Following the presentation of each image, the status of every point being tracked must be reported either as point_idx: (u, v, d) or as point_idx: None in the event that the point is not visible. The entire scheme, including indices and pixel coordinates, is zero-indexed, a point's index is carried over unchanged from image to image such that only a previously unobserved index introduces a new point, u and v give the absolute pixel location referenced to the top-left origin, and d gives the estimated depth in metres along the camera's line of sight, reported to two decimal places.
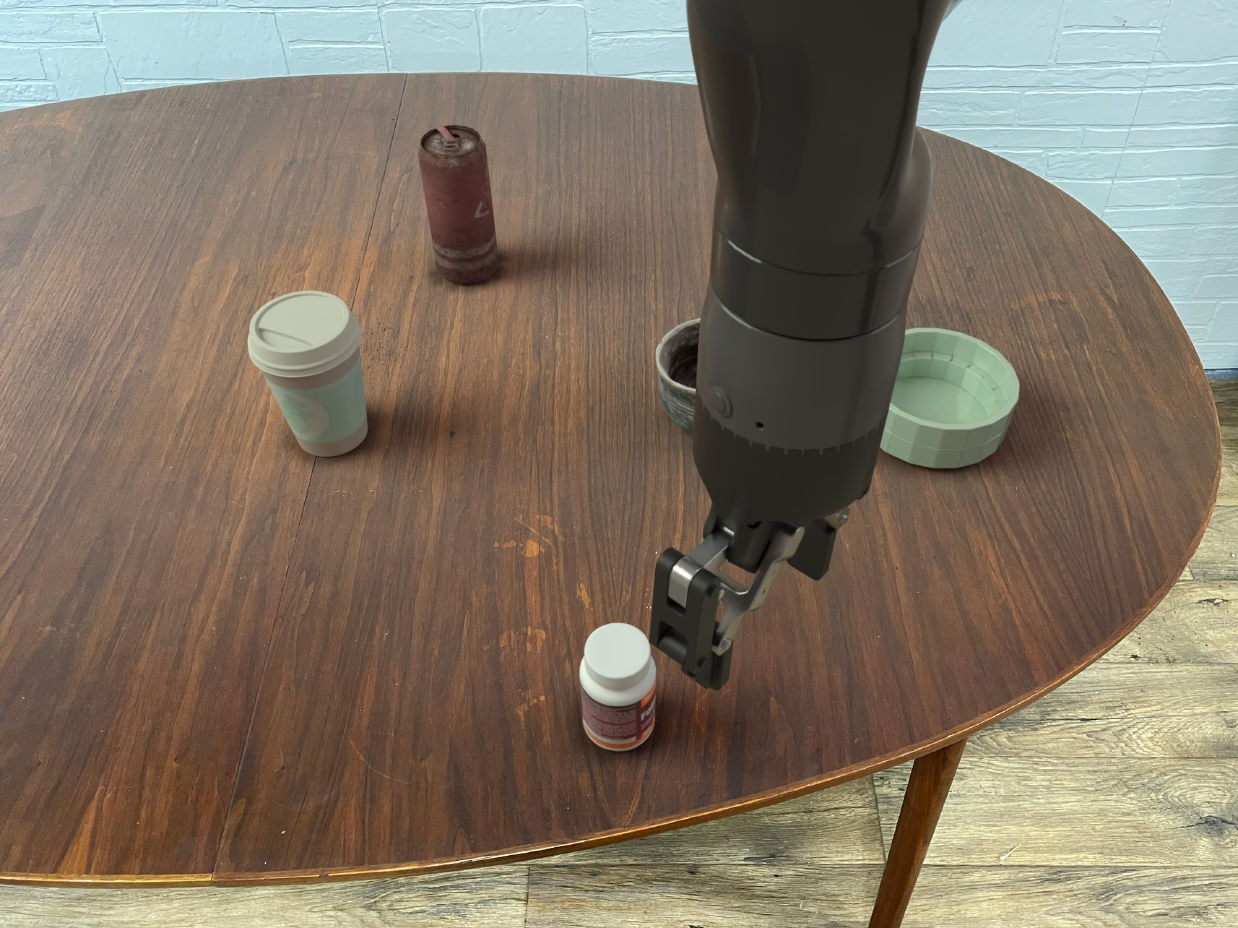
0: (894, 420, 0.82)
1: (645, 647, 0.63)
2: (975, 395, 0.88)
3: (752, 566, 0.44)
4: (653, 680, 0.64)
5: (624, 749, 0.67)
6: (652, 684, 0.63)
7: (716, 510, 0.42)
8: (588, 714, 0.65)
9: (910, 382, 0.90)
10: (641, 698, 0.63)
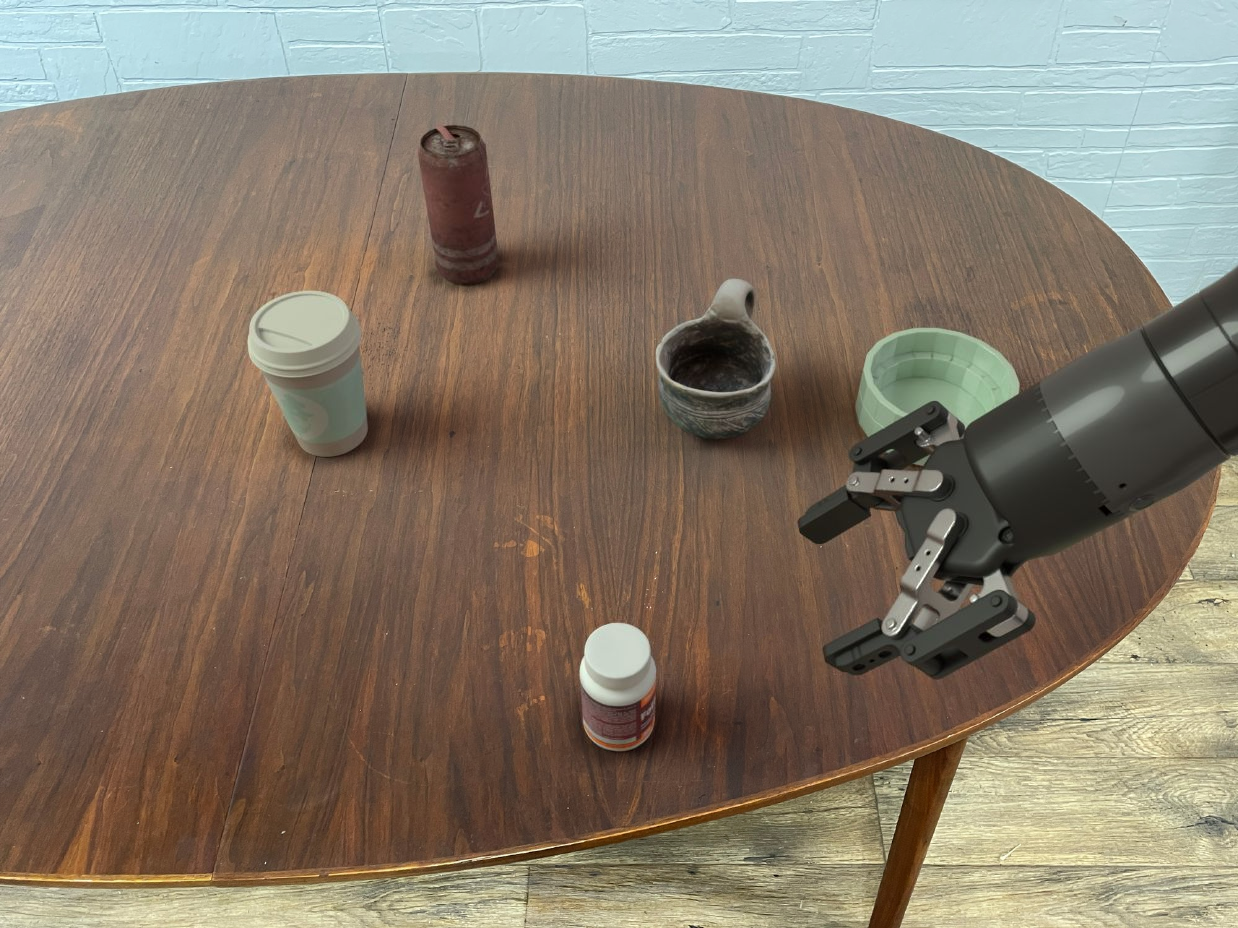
0: (894, 420, 0.82)
1: (645, 647, 0.63)
2: (975, 395, 0.88)
3: None
4: (653, 680, 0.64)
5: (624, 749, 0.67)
6: (652, 684, 0.63)
7: None
8: (588, 714, 0.65)
9: (910, 382, 0.90)
10: (641, 698, 0.63)
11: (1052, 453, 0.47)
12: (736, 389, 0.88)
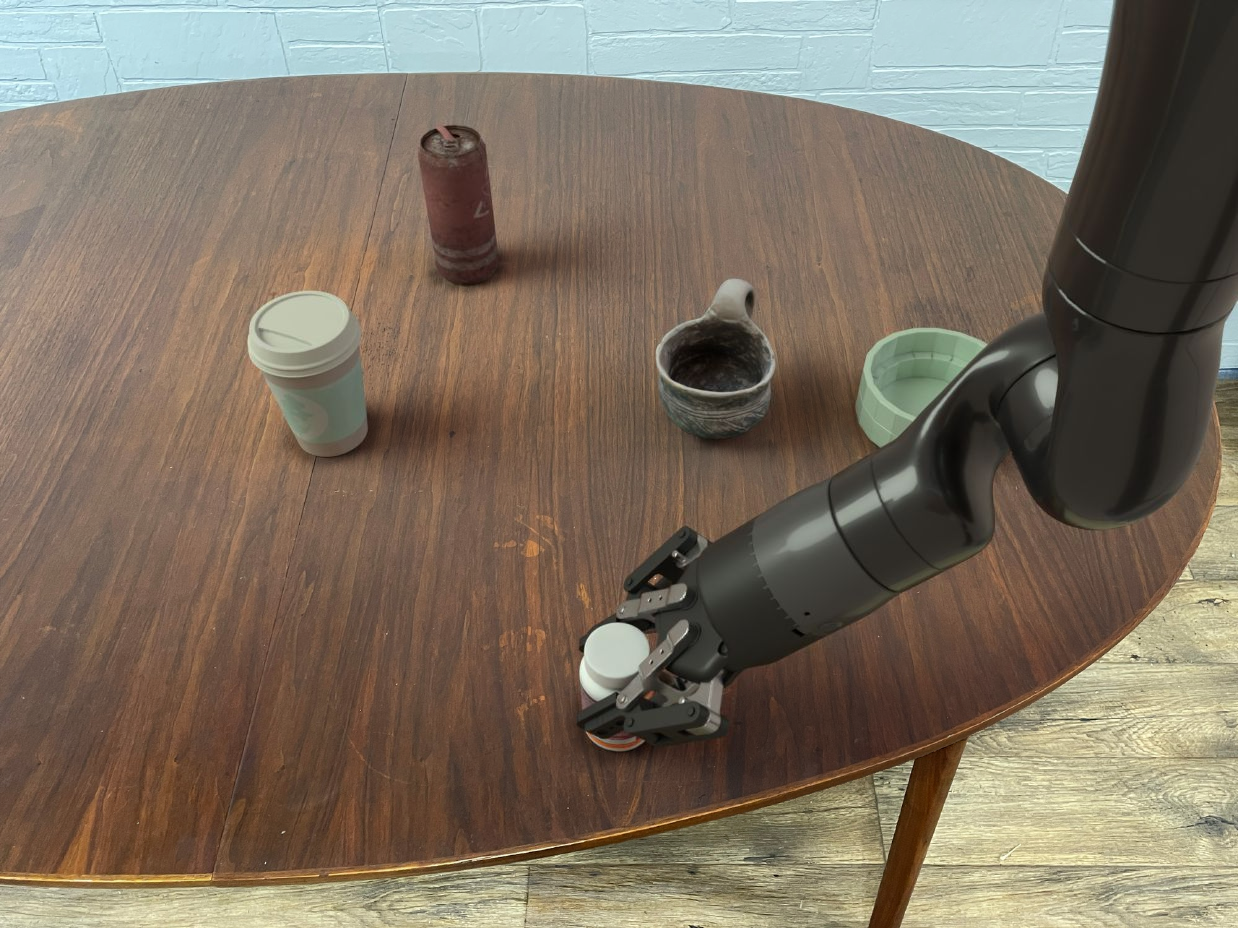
0: (894, 420, 0.82)
1: (645, 647, 0.63)
2: None
3: (677, 581, 0.62)
4: None
5: (624, 749, 0.67)
6: None
7: None
8: None
9: (910, 382, 0.90)
10: None
11: (751, 582, 0.54)
12: (736, 389, 0.88)
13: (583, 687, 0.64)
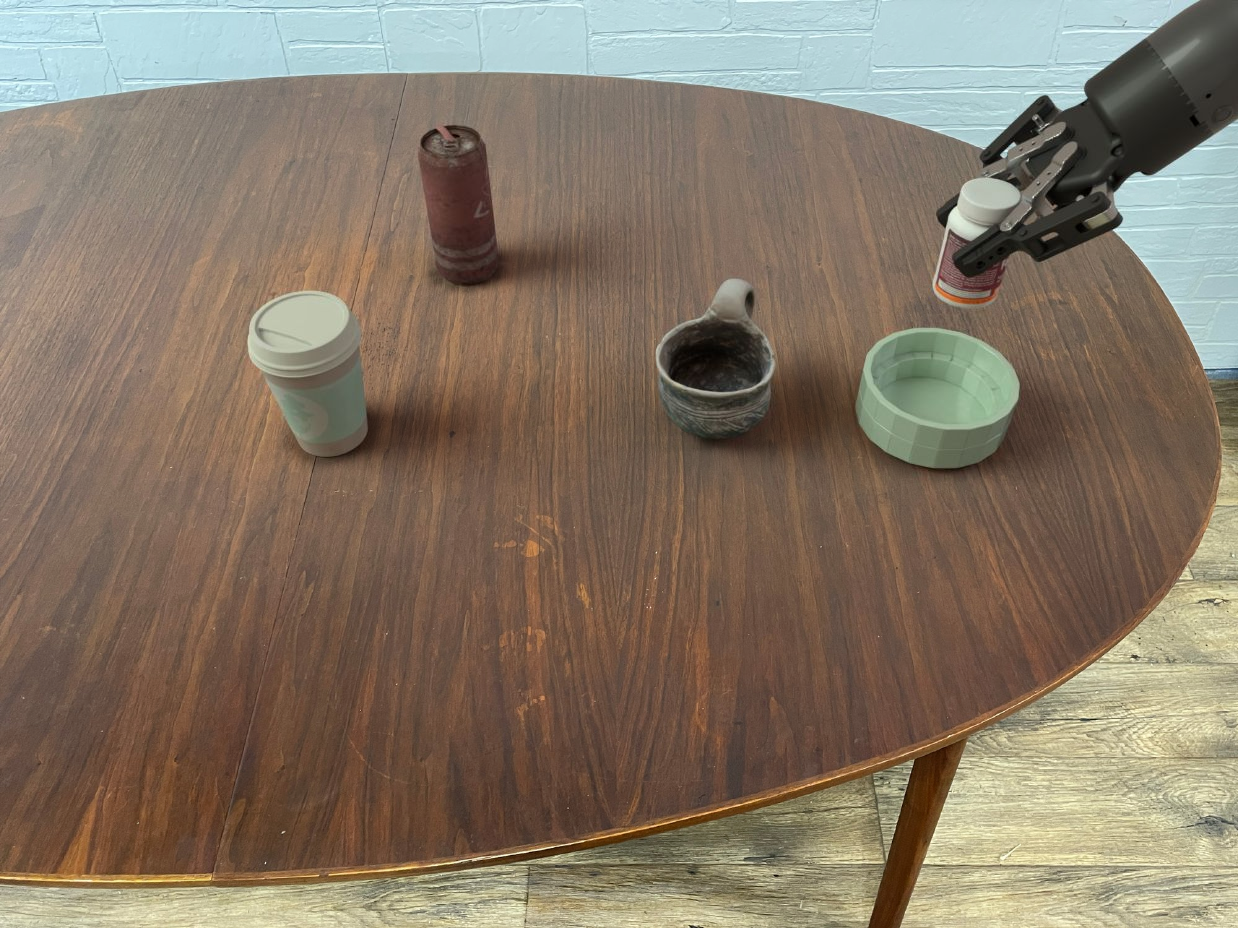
0: (894, 420, 0.82)
1: (1015, 191, 0.71)
2: (975, 395, 0.88)
3: None
4: None
5: (977, 306, 0.76)
6: None
7: None
8: (952, 267, 0.74)
9: (910, 382, 0.90)
10: None
11: (1155, 76, 0.63)
12: (736, 389, 0.88)
13: (956, 233, 0.72)
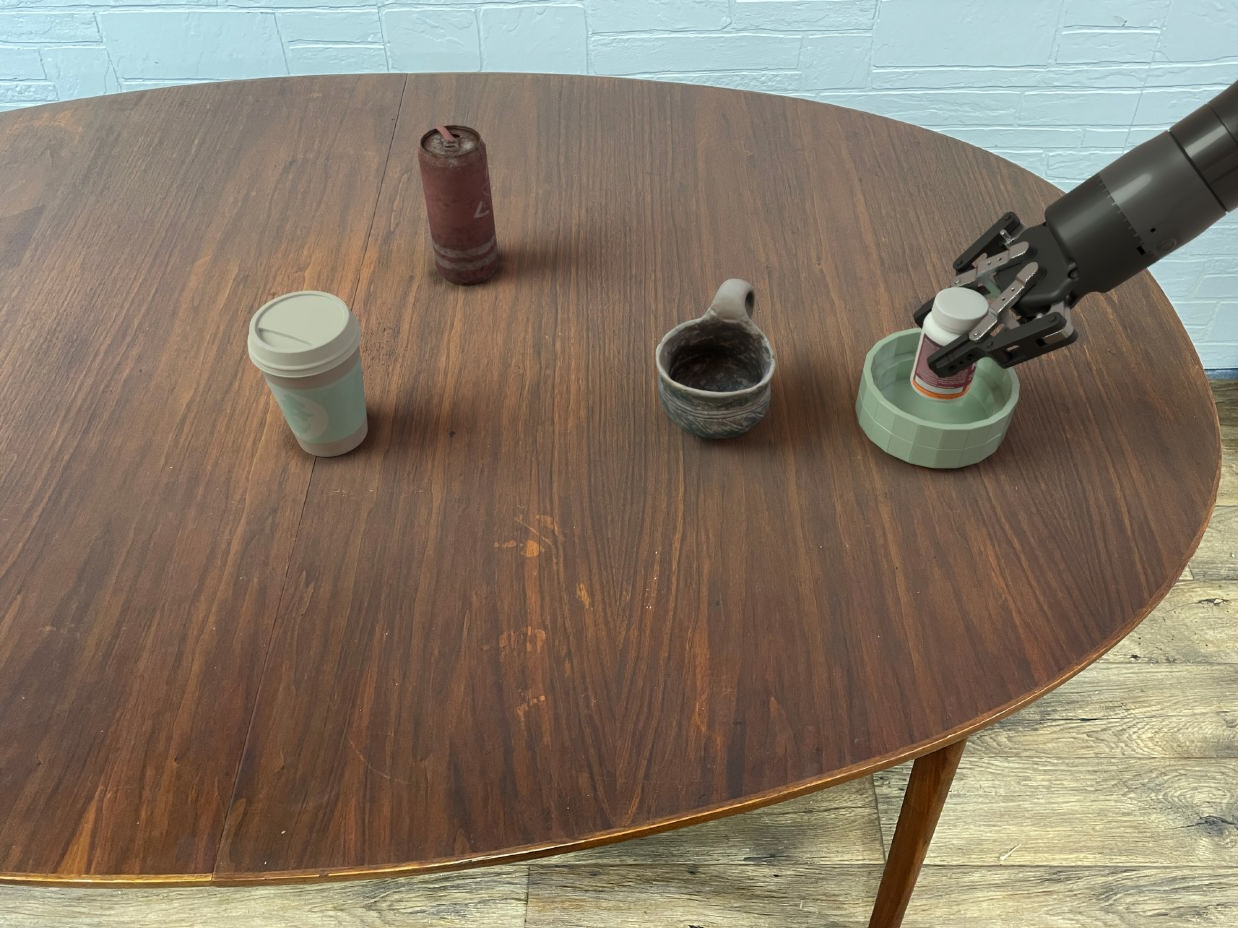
0: (894, 420, 0.82)
1: (984, 301, 0.79)
2: (975, 395, 0.88)
3: None
4: None
5: (951, 400, 0.83)
6: None
7: None
8: (927, 366, 0.81)
9: (910, 382, 0.90)
10: None
11: (1106, 210, 0.70)
12: (736, 389, 0.88)
13: (930, 338, 0.80)
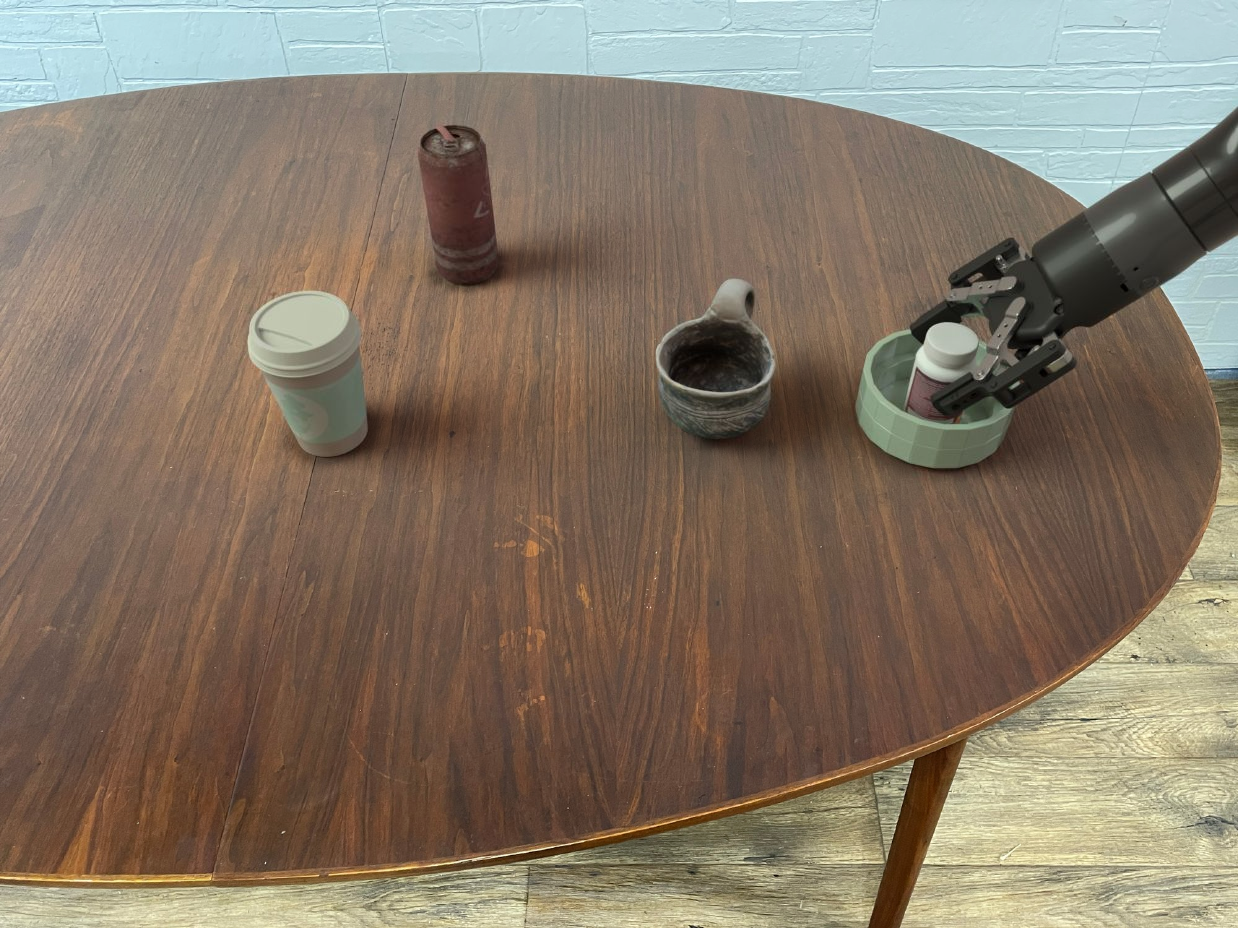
0: (894, 420, 0.82)
1: (974, 336, 0.81)
2: None
3: None
4: (976, 366, 0.82)
5: None
6: None
7: None
8: (919, 398, 0.84)
9: None
10: None
11: (1091, 249, 0.73)
12: (736, 389, 0.88)
13: (922, 371, 0.82)
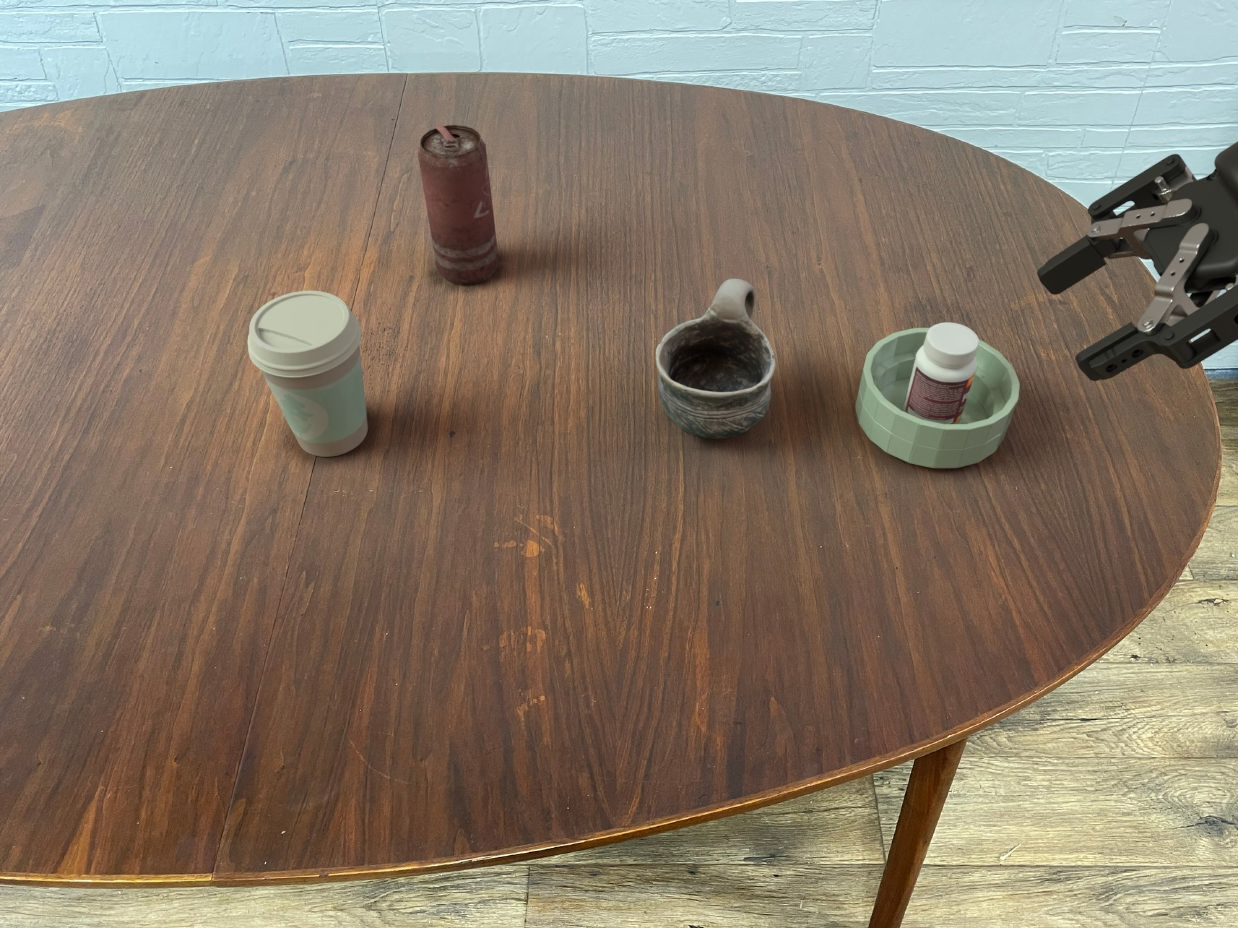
0: (894, 420, 0.82)
1: (974, 336, 0.81)
2: (975, 395, 0.88)
3: None
4: (976, 366, 0.82)
5: None
6: None
7: None
8: (919, 398, 0.84)
9: None
10: (969, 378, 0.82)
11: None
12: (736, 389, 0.88)
13: (922, 371, 0.82)
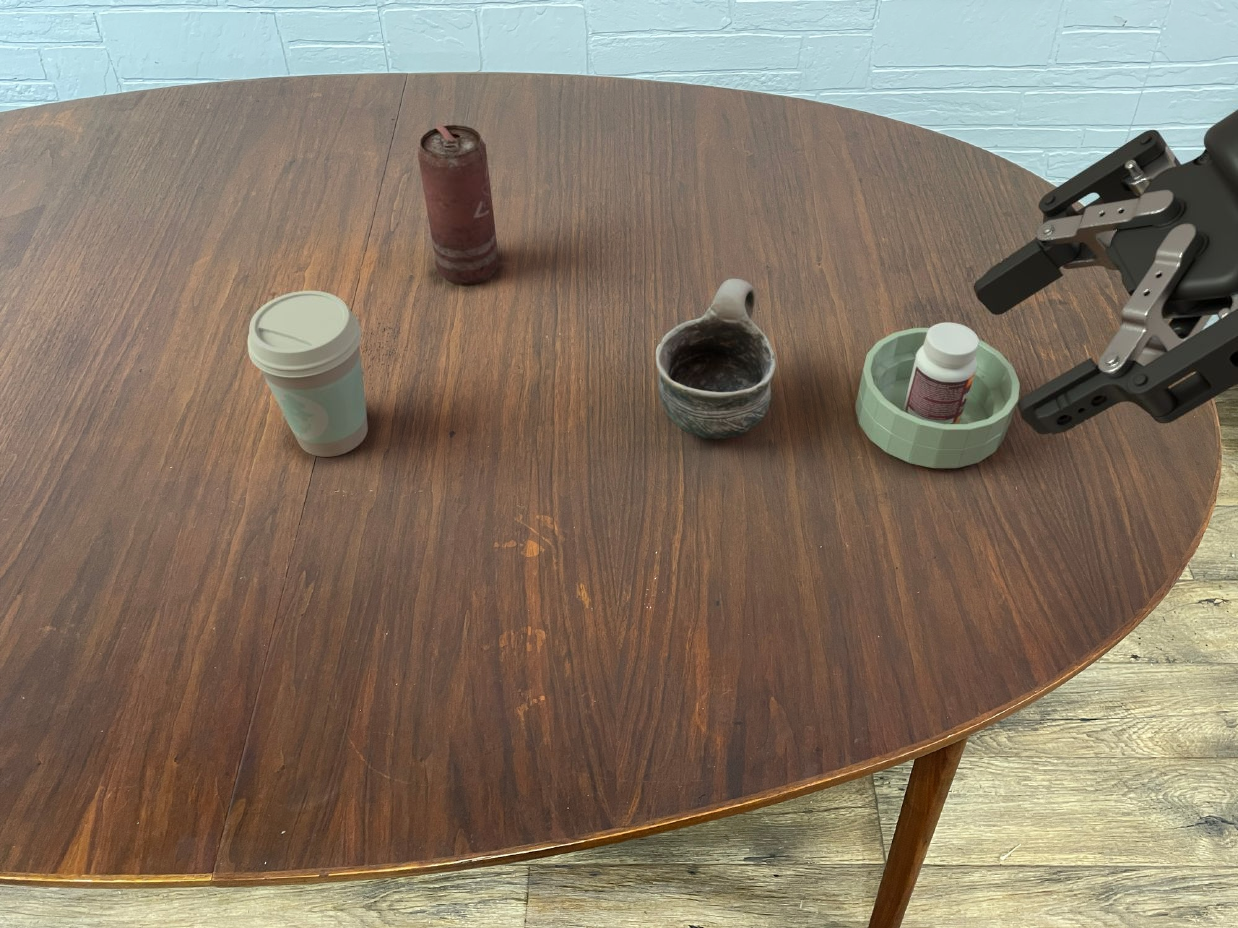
0: (894, 420, 0.82)
1: (974, 336, 0.81)
2: (975, 395, 0.88)
3: None
4: (976, 366, 0.82)
5: None
6: None
7: None
8: (919, 398, 0.84)
9: None
10: (969, 378, 0.82)
11: None
12: (736, 389, 0.88)
13: (922, 371, 0.82)
